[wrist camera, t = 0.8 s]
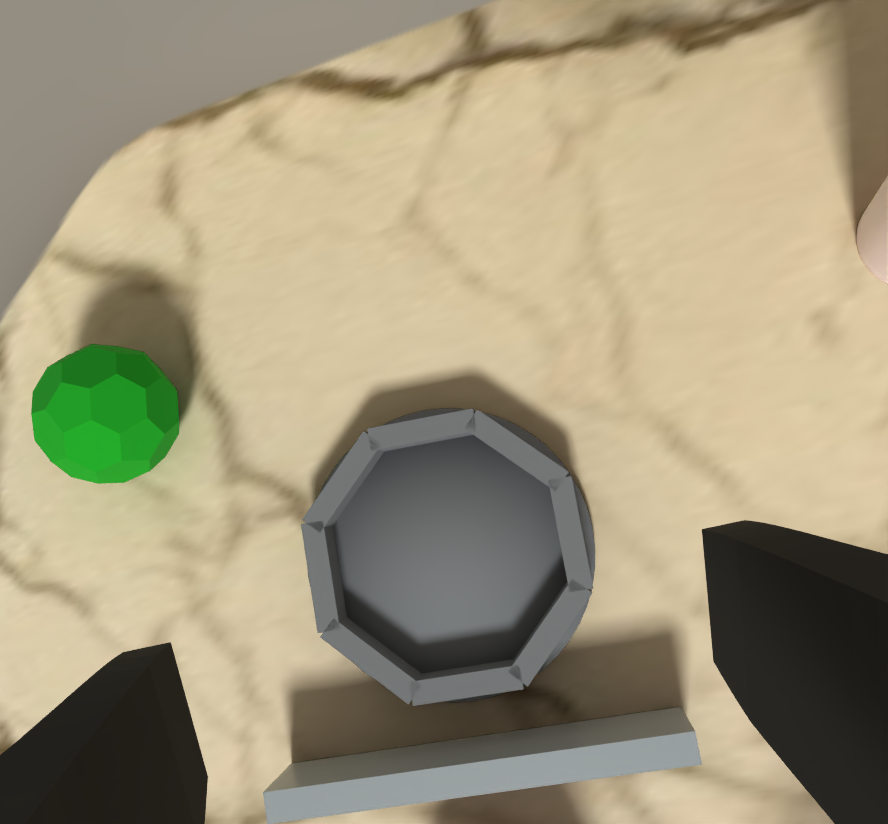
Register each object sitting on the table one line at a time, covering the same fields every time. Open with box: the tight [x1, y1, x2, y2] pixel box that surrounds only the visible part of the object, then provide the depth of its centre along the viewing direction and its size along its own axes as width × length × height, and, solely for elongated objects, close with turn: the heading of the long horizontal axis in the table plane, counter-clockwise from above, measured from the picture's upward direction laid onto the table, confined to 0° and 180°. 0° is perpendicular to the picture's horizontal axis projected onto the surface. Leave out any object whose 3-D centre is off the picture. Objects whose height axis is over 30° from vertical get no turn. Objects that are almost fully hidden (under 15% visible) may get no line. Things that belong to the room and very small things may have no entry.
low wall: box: [263, 707, 702, 824], centre depth 28 cm, size 1×14×3 cm, turn 100°
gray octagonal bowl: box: [301, 408, 595, 706], centre depth 30 cm, size 10×10×2 cm
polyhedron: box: [31, 344, 179, 483], centre depth 30 cm, size 5×5×5 cm
